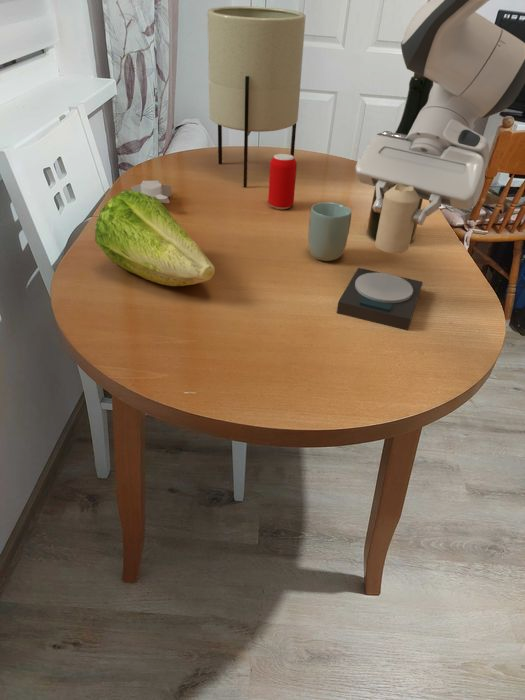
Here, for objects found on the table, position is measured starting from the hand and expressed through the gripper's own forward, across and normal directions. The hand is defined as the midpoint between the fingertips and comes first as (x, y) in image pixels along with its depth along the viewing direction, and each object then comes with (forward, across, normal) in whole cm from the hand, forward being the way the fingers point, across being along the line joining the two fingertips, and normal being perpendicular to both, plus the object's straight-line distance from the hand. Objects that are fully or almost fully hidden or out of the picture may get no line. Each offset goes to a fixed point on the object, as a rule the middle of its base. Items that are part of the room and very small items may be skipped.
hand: (396, 216), depth 82 cm
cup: (+5, -17, +18) cm, 25 cm away
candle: (+4, 0, +4) cm, 6 cm away
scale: (+11, 0, +11) cm, 16 cm away
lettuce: (+25, -34, -2) cm, 42 cm away
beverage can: (-7, -40, +29) cm, 50 cm away
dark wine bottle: (-8, -11, +31) cm, 34 cm away
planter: (-17, -60, +40) cm, 74 cm away
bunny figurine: (+8, -63, +15) cm, 65 cm away
